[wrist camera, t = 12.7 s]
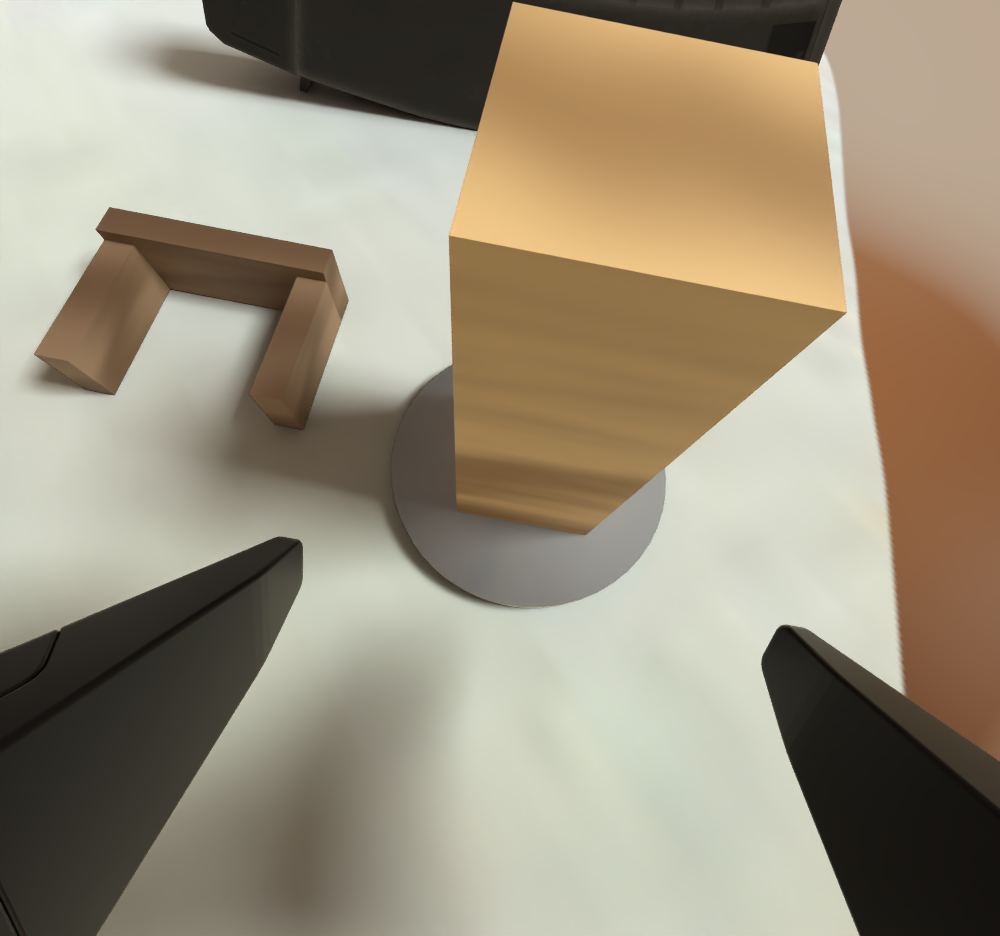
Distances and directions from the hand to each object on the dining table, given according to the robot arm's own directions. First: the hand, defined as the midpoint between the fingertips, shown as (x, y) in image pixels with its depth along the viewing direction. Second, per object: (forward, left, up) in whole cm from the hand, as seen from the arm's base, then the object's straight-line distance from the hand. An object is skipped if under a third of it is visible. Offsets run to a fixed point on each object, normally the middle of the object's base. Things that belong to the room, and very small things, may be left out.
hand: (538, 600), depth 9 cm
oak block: (+4, +5, -8) cm, 10 cm away
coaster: (+4, +5, -9) cm, 11 cm away
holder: (-6, +15, -9) cm, 19 cm away
